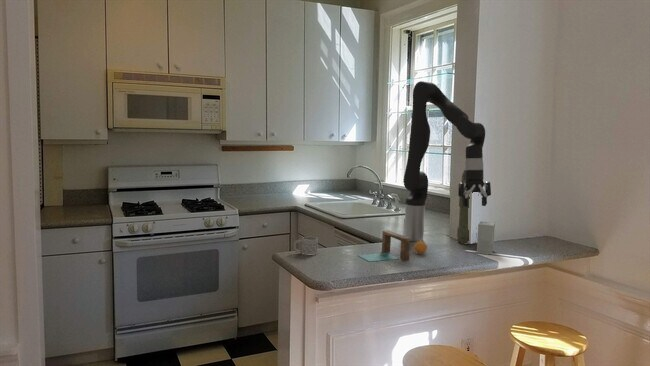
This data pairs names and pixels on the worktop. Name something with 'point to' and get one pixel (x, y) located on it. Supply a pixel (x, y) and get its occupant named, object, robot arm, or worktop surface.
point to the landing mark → (378, 257)
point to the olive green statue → (463, 218)
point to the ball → (420, 247)
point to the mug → (307, 245)
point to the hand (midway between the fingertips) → (474, 206)
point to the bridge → (404, 244)
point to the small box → (485, 237)
